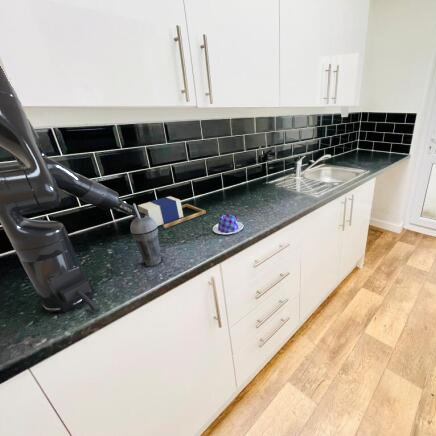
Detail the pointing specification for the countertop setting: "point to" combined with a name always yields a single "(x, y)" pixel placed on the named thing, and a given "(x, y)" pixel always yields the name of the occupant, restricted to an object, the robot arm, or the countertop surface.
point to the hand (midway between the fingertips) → (143, 216)
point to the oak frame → (187, 216)
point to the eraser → (162, 210)
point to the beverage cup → (146, 238)
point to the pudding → (227, 225)
